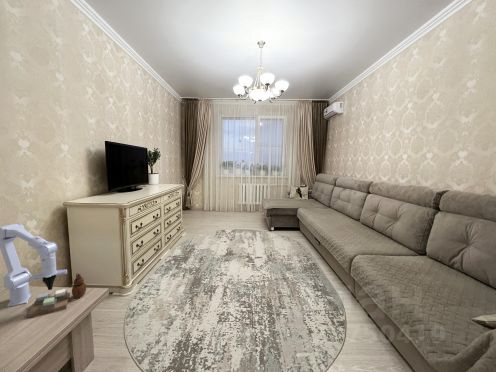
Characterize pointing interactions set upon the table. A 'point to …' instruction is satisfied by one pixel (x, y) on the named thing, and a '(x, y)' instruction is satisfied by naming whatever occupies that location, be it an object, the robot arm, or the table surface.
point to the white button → (60, 292)
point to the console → (58, 305)
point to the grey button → (43, 296)
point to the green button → (49, 301)
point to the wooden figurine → (78, 287)
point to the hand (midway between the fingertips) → (50, 289)
